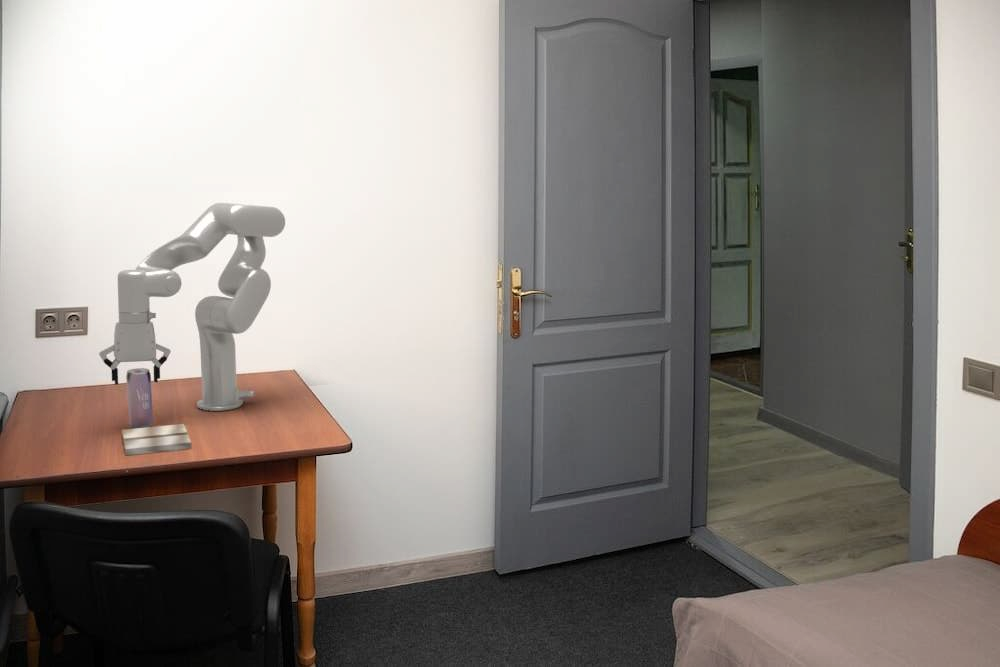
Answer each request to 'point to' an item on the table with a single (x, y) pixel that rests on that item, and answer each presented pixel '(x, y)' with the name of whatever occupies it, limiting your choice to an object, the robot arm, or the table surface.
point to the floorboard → (157, 444)
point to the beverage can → (139, 398)
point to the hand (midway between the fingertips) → (136, 382)
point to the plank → (153, 432)
